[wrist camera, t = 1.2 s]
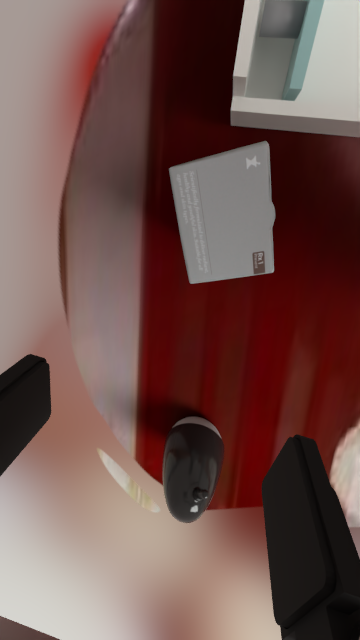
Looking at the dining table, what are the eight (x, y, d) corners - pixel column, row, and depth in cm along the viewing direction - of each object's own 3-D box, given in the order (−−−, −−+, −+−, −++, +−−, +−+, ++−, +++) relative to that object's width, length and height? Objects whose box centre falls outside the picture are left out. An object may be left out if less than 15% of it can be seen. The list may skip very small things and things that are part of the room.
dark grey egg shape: (237, 427, 45) (239, 523, 31) (204, 455, 50) (193, 550, 36) (189, 397, 44) (171, 483, 31) (160, 428, 49) (133, 515, 35)
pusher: (327, -48, 20) (353, -115, 16) (289, 108, 25) (301, 89, 20) (274, -49, 21) (285, -114, 17) (246, 105, 25) (249, 85, 21)
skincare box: (190, 180, 30) (153, 160, 16) (252, 165, 28) (272, 128, 14) (201, 251, 33) (179, 288, 19) (257, 242, 32) (278, 274, 17)
